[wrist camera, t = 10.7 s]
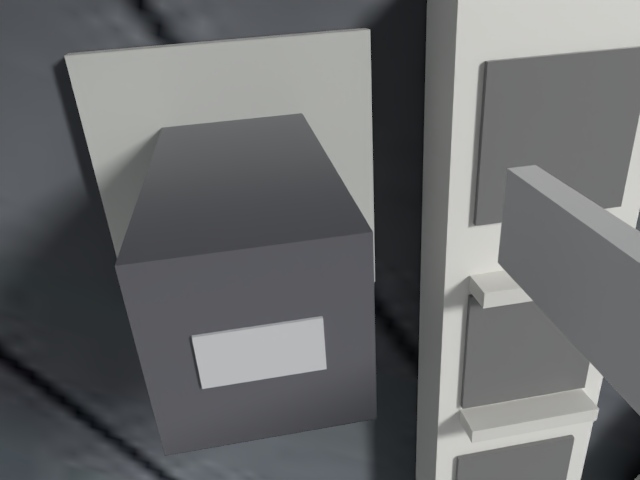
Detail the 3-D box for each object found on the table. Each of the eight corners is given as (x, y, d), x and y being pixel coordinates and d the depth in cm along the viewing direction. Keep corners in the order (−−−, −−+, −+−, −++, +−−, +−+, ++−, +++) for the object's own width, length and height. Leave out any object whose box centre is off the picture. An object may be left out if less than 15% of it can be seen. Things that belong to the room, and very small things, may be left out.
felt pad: (69, 53, 16) (64, 55, 16) (365, 27, 17) (370, 29, 17) (134, 307, 20) (132, 316, 20) (371, 273, 21) (375, 281, 21)
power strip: (437, -427, 13) (510, -558, 10) (701, -422, 14) (850, -542, 11) (414, 525, 29) (440, 597, 25) (540, 500, 29) (580, 566, 26)
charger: (162, 127, 17) (113, 267, 9) (301, 113, 18) (374, 233, 10) (186, 252, 19) (164, 458, 11) (311, 236, 20) (378, 421, 12)
